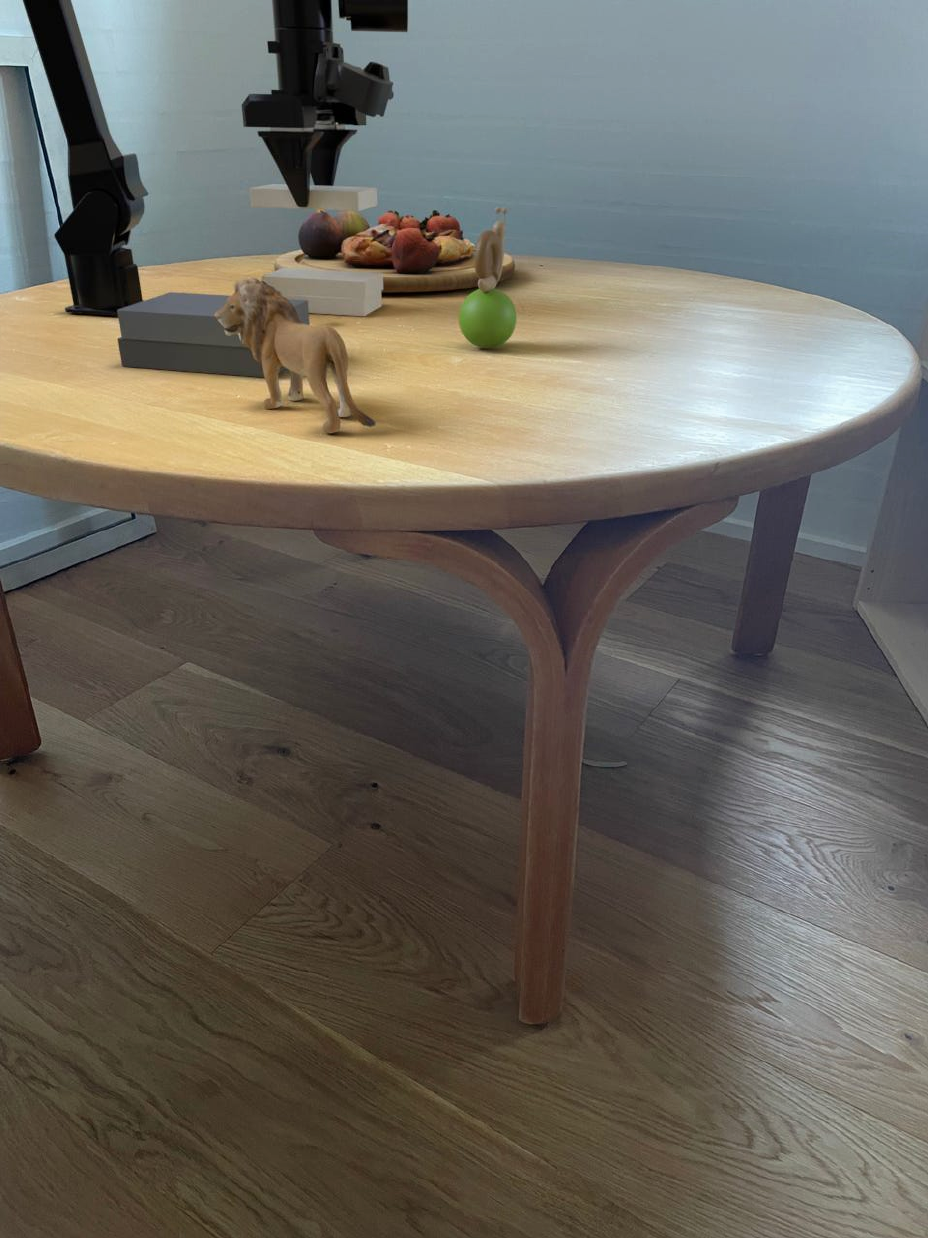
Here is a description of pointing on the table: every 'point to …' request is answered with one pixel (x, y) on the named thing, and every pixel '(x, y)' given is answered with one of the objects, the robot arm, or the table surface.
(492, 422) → the table surface
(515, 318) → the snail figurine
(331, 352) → the lion figurine
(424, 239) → the wooden plate
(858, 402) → the table surface
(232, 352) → the dark grey box
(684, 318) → the table surface
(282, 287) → the light grey block
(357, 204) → the white rectangular block
